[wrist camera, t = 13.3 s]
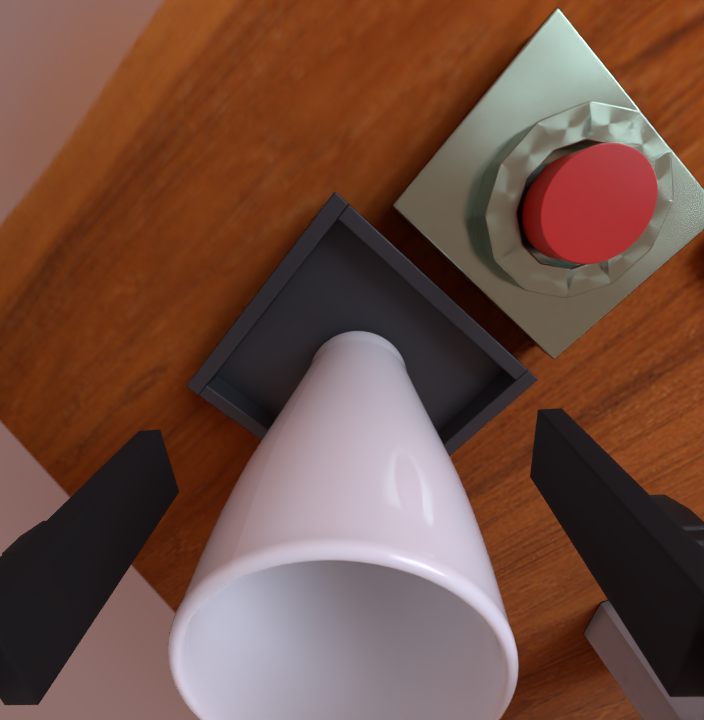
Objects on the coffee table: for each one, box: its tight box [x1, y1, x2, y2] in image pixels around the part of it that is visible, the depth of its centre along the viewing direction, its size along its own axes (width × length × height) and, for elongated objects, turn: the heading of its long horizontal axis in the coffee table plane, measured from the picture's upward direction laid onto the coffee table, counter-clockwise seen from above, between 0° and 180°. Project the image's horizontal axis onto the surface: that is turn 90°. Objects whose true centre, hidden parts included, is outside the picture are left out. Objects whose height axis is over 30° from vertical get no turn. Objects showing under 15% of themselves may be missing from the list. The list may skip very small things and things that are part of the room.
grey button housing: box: [391, 8, 704, 359], centre depth 16 cm, size 11×9×4 cm
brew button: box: [522, 143, 658, 264], centre depth 14 cm, size 4×4×2 cm
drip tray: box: [187, 192, 538, 456], centre depth 21 cm, size 14×13×2 cm
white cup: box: [168, 331, 519, 720], centre depth 14 cm, size 7×7×15 cm
